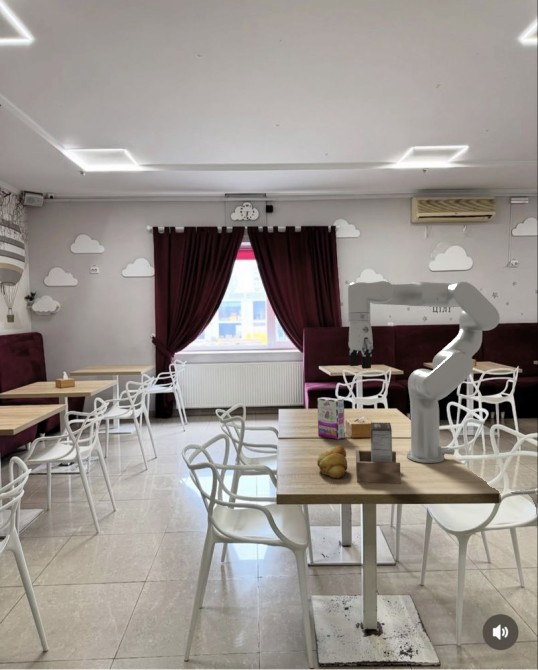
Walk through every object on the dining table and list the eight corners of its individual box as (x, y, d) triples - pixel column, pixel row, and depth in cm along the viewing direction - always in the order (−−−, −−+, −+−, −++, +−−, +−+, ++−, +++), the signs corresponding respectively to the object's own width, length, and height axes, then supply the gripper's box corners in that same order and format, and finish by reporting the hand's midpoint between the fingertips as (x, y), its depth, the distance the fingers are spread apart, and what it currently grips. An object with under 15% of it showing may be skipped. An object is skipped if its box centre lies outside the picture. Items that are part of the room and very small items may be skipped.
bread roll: (350, 480, 138) (349, 454, 138) (318, 480, 138) (318, 455, 138) (345, 467, 151) (345, 443, 150) (316, 467, 151) (316, 443, 151)
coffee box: (371, 470, 146) (370, 421, 146) (391, 471, 145) (390, 422, 145) (371, 480, 137) (370, 428, 137) (393, 481, 136) (392, 429, 136)
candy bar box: (345, 437, 188) (344, 399, 187) (337, 440, 184) (337, 400, 184) (325, 433, 196) (324, 396, 195) (317, 435, 192) (316, 397, 192)
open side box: (395, 469, 147) (395, 451, 147) (400, 483, 134) (400, 463, 134) (356, 467, 149) (355, 450, 149) (357, 481, 136) (356, 462, 136)
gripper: (381, 317, 147) (381, 369, 148) (358, 318, 164) (359, 364, 164) (360, 318, 145) (361, 370, 146) (339, 318, 162) (340, 365, 163)
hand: (360, 367), depth 155 cm, fingers open, 9 cm apart
